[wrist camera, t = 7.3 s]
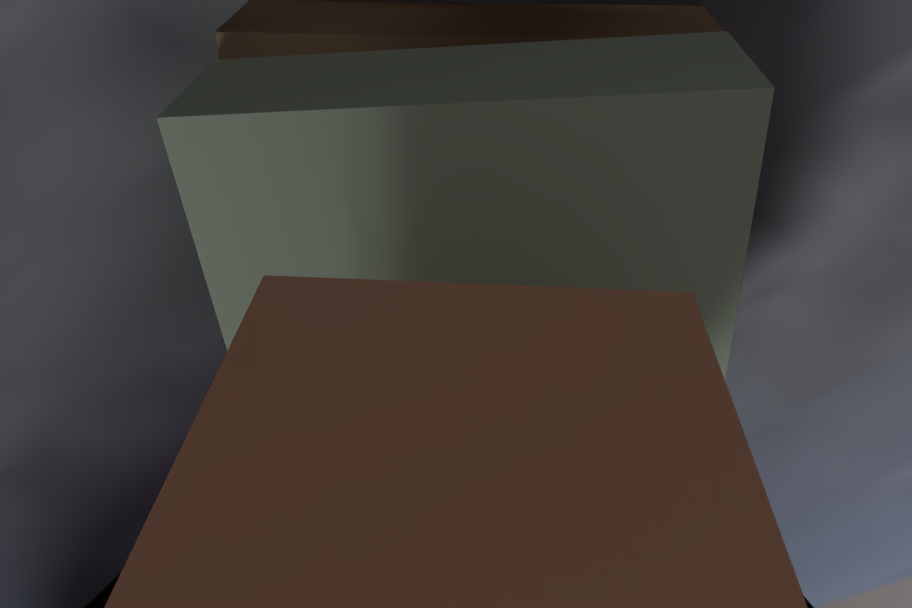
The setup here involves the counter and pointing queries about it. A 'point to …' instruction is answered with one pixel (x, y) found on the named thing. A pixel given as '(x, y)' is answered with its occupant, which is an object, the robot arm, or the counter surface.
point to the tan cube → (463, 458)
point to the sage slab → (478, 167)
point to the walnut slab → (437, 25)
